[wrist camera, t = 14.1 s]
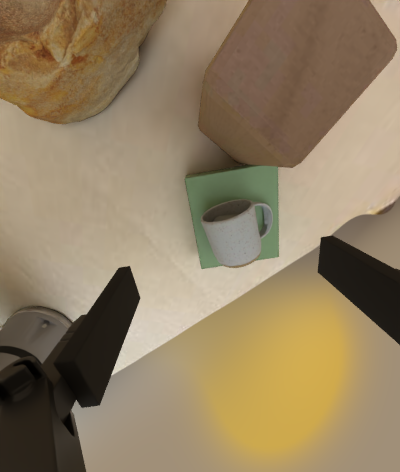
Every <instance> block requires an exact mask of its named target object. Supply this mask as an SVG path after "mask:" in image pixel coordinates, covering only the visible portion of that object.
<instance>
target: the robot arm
mask: <svg viewBox="0 0 400 472" xmlns="http://www.w3.org/2000/svg"><path fill="white" fill-rule="evenodd" d="M318 273H319V274H321V275H322V276H323V277H324V278H325V279H326V280H327V281H328V282H330V283H331V284H332V285H333V286H334V287H335V288H336V289H337V290H339V291H340V292H341V293H342V294H343V295H345V297H346V298H348V299H349V300H350V301H351V302H352V303H353V304H354V305H355V306H357V307H358V308H359V309H360V310H361V311H362V312H363V313H365V314H366V315H367V316H368V317H369V318H370V319H371V320H372V321H374V322H375V323H376V324H377V325H378V326H379V327H380V328H381V329H383V330H384V331H385V332H386V333H387V334H388V335H389V336H390V337H392V338H393V339H394V340H395V341H396V342H397V343H398V344H399V345H400V270H398V269H394V268H392V267H390V266H388V265H387V264H385V263H382V262H381V261H379V260H377V259H375V258H373V257H372V256H369V255H368V254H366V253H364V252H362V251H360V250H358V249H356V248H355V247H353V246H351V245H349V244H347V243H345V242H343V241H342V240H340V239H338V238H336V237H334V236H327V237H321V243H320V254H319V264H318ZM139 300H140V296H139V293H138V289H137V286H136V283H135V280H134V277H133V274H132V271H131V268H130V266H128V267H121V268H118V270H117V271H116V273H115V274H114V276H113V277H112V279H111V280H110V281H109V283H108V284H107V286H106V287H105V289H104V290H103V292H102V293H101V294H100V296H99V297H98V299H97V300H96V302H95V303H94V305H93V306H92V308H91V309H90V310H89V312H88V313H87V315H81V316H80V317H79V318H78V319H77V320H76V321H74V322H73V323H71V322H70V321H69V320H68V319H67V318H66V317H65V316H63V315H62V314H60V313H58V312H56V311H54V310H51V309H48V308H44V307H27V308H23V309H21V310H19V311H17V312H16V313H15V314H13V315H12V316H11V317H10V318H9V319H8V320H7V321H6V323H5V324H4V326H3V328H2V329H1V331H0V472H86V469H85V464H84V460H83V455H82V450H81V446H80V441H79V436H78V432H77V427H76V423H75V418H74V414H73V413H72V411H71V409H72V407H73V405H74V402H75V401H76V400H77V401H78V403H79V404H80V406H81V407H82V408H83V407H91V406H98V405H100V403H101V400H102V398H103V395H104V393H105V390H106V387H107V385H108V382H109V379H110V377H111V374H112V372H113V369H114V366H115V364H116V361H117V358H118V356H119V353H120V350H121V348H122V345H123V343H124V340H125V337H126V335H127V332H128V329H129V327H130V324H131V322H132V319H133V316H134V314H135V311H136V308H137V306H138V303H139Z"/></svg>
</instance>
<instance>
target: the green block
mask: <svg viewBox="0 0 400 472" xmlns="http://www.w3.org/2000/svg"><path fill="white" fill-rule="evenodd" d="M185 183H186V188H187V194H188V199H189V204H190V210H191V215H192V220H193V226H194V231H195V236H196V242H197V247H198V252H199V258H200V263H201V268H202V269H205V268H211V267H217V266H223V265H222V264H220V263H219V262H218V260H217V259H216V257H215V255H214V253H213V251H212V248H211V245H210V243H209V240H208V238H207V236H206V233H205V230H204V228H203V225H202V223H201V216H202V215H203V214H204V212H206V211H207V210H209V209H210V208H212V207H214V206H216V205H219V204H221V203H224V202H228V201H231V200H238V199H247V200H251V201H252V202H261V203H265V204H267V205H268V206H269V207H270V208H271V210H272V214H273V222H272V226H271V229H270V231H269V233H268V234H267V235H266V236H265V237H263V238H262V239H261V253H260V255H259V257H258V258H257V259H256V260H262V259H269V258H275V257H279V228H278V167H275V166H262V165H243V166H238V167H232V168H226V169H221V170H215V171H209V172H203V173H198V174H192V175H187V176H186V177H185ZM255 212H256V218H257V223H258V230H259V231H260V230H261V229H262V228H263V226H264V212H263V209H262V207H261V206H255ZM256 260H255V261H256Z"/></svg>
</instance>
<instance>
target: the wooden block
mask: <svg viewBox="0 0 400 472" xmlns="http://www.w3.org/2000/svg"><path fill="white" fill-rule="evenodd" d="M396 51H397V44H396V39H395V37H394V36H393V34H392V33H391V31H390V30H389V28H388V27H387V25H386V24H385V22H384V21H383V19H382V18H381V17H380V15H379V14H378V12H377V11H376V9H375V8H374V6H373V5H372V3H371V2H370V0H249V1H248V3H247V5H246V6H245V8H244V9H243V11H242V13H241V14H240V16H239V18H238V19H237V21H236V22H235V24H234V26H233V27H232V29H231V30H230V32H229V34H228V35H227V37H226V39H225V40H224V42H223V43H222V45H221V47H220V48H219V50H218V52H217V53H216V55H215V56H214V58H213V60H212V61H211V63H210V65H209V66H208V68H207V69H206V71H205V76H204V81H203V87H202V96H201V105H200V113H199V122H198V127H199V129H200V131H201V132H203V133H204V134H205V135H206V136H207V137H208V138H210V139H211V140H212V141H213V142H214V143H215V144H217V145H218V146H219V147H220V148H221V149H222V150H223V151H225V152H226V153H227V154H228V155H229V156H230V157H232V158H233V159H234V160H235V161H236V162H237V163H240V164H249V165H262V166H275V167H289V168H293V167H294V166H296V165H298V164H300V163H301V162H302V161H303V160H304V159H305V158H306V156H307V155H308V154H309V153H310V152H311V151H312V150H313V148H314V147H315V146H316V145H317V144H318V143H319V142H320V141H321V139H322V138H323V137H324V136H325V135H326V134H327V133H328V131H329V130H330V129H331V128H332V127H333V126H334V125H335V123H336V122H337V121H338V120H339V119H340V118H341V117H342V116H343V114H344V113H345V112H346V111H347V110H348V109H349V108H350V106H351V105H352V104H353V103H354V102H355V101H356V100H357V98H358V97H359V96H360V95H361V94H362V93H363V92H364V90H365V89H366V88H367V87H368V86H369V85H370V84H371V83H372V81H373V80H374V79H375V78H376V77H377V76H378V75H379V73H380V72H381V71H382V70H383V69H384V68H385V67H386V65H387V64H388V63H389V62H390V61H391V60H392V59H393V57H394V55H395V53H396Z"/></svg>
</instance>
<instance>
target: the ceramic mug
mask: <svg viewBox="0 0 400 472" xmlns="http://www.w3.org/2000/svg"><path fill="white" fill-rule="evenodd" d="M255 206H261V207H262V209H263V212H264V226H263V228H262V229H261V230H260V231H259V230H258V223H257V218H256V212H255ZM272 222H273V214H272V210H271V208H270V207H269V206H268V205H267V204H265V203H261V202H252V201H251V200H247V199H238V200H231V201H228V202H224V203H221V204H219V205H216V206H214V207H212V208H210V209H209V210H207V211H206V212H204V214H203V215H202V216H201V223H202V225H203V228H204V230H205V233H206V236H207V238H208V240H209V243H210V245H211V248H212V251H213V253H214V255H215V257H216V259H217V260H218V262H219V263H220V264H222V265H223V266H225V267H229V268H238V267H243V266H246V265H249V264H251V263H252V262H254V261H255V260H256V259H257V258H258V257H259V255H260V253H261V239H262V238H263V237H265V236H266V235H267V234H268V233H269V231H270V229H271V226H272Z"/></svg>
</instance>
